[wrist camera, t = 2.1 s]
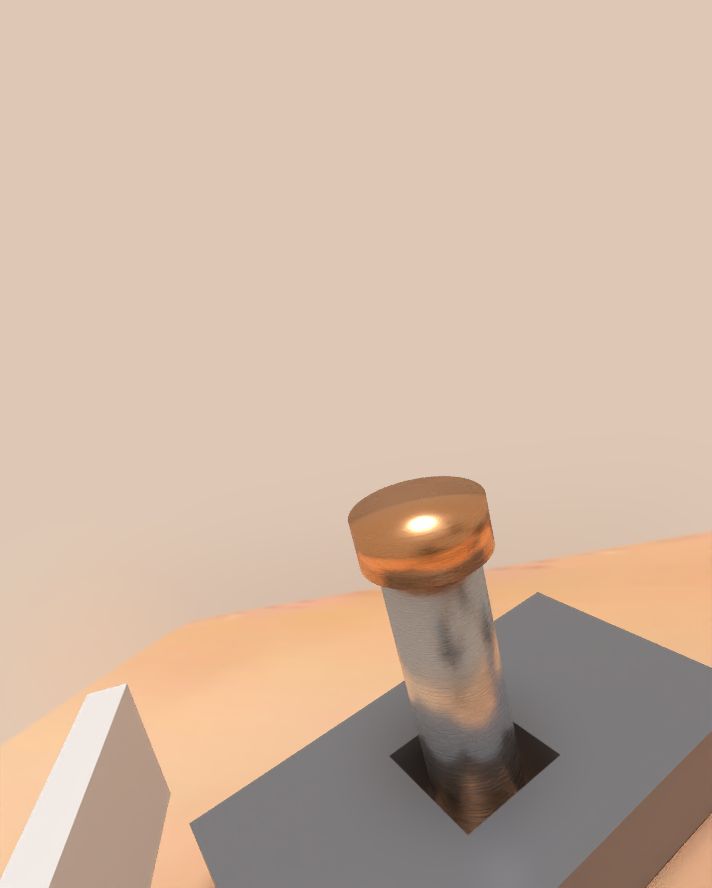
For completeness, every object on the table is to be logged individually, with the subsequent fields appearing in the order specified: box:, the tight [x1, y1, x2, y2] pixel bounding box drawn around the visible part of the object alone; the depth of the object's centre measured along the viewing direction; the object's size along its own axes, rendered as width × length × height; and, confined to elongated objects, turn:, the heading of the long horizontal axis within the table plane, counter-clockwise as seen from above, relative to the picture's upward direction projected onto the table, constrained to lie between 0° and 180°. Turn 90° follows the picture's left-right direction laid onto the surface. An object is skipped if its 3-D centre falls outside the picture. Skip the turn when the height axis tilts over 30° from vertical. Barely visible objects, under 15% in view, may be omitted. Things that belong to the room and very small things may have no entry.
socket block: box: [190, 592, 712, 888], centre depth 26 cm, size 22×12×4 cm, turn 123°
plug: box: [348, 476, 525, 835], centre depth 25 cm, size 5×5×16 cm
